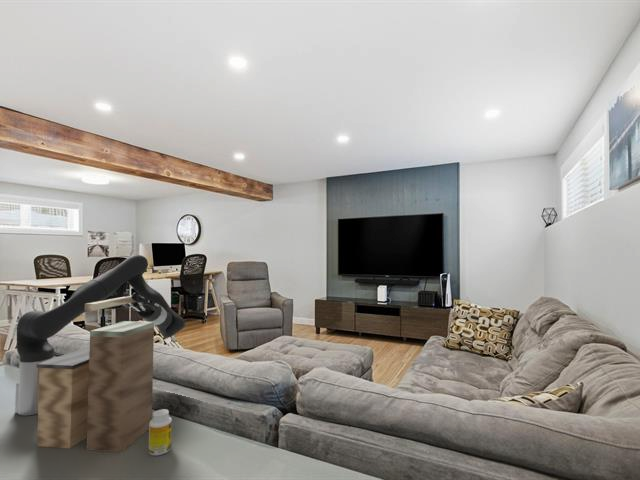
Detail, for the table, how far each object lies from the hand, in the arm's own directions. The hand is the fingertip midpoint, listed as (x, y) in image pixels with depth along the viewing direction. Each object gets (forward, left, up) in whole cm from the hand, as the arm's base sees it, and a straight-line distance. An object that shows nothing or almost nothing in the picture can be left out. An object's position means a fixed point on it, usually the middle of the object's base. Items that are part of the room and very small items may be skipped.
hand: (128, 295), depth 125 cm
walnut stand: (+13, -21, -38) cm, 46 cm away
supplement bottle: (+28, -26, -39) cm, 54 cm away
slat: (0, -7, -2) cm, 7 cm away
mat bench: (-2, -20, -38) cm, 43 cm away
